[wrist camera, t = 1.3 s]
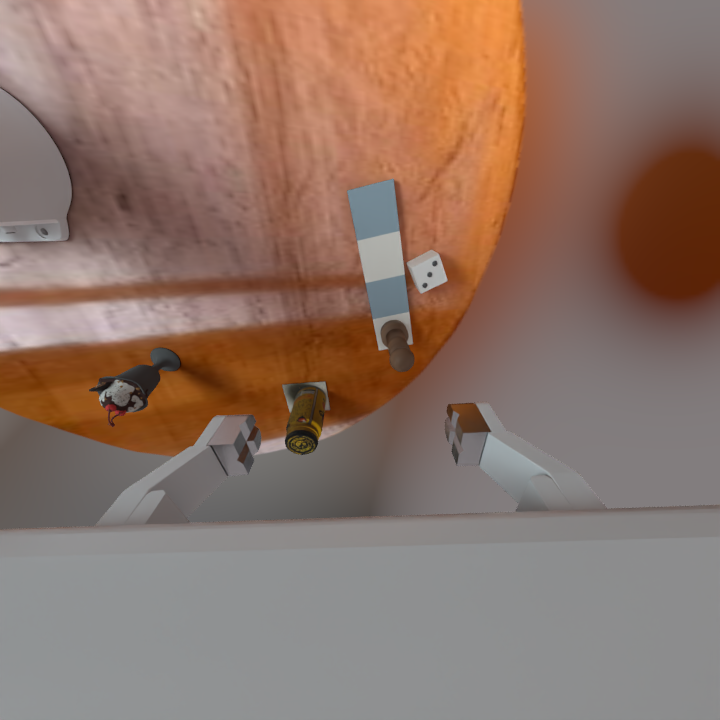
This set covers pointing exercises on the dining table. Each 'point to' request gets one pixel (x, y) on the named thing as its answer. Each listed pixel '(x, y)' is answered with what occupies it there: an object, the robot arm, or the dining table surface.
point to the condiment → (305, 415)
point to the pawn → (397, 345)
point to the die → (427, 271)
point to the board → (381, 254)
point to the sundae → (134, 384)
